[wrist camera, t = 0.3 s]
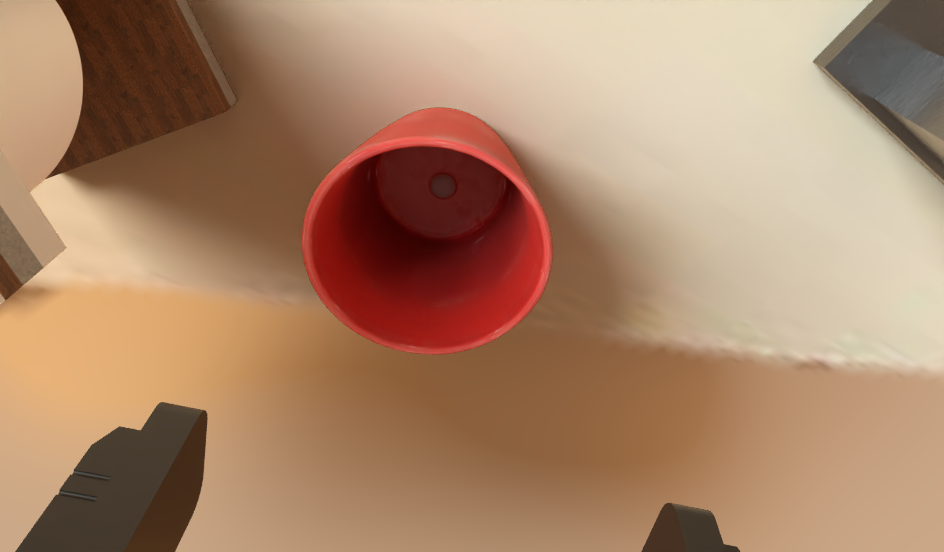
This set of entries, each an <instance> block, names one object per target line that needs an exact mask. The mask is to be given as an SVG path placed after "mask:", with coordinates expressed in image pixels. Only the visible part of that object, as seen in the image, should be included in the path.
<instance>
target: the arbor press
mask: <svg viewBox="0 0 944 552" xmlns="http://www.w3.org/2000/svg"><path fill="white" fill-rule="evenodd" d="M813 62H814V63H815V64H816V65H817V66H818V67H819V68H820V69H821V70H822V71H824V72H825V73H826V74H827V75H828V76H829V77H830V78H831V79H832V80H833V81H834V82H835V83H836V84H837V85H838V86H840V87H841V88H842V89H843V90H844V91H845V92H846V93H847V94H848V95H849V96H850V97H851V98H852V99H853V100H854V101H856V102H857V103H858V104H859V105H860V106H861V107H862V108H863V109H864V110H865V111H866V112H867V113H868V114H869V115H870V116H872V117H873V118H874V119H875V120H876V121H877V122H878V123H879V124H880V125H881V126H882V127H883V128H884V129H885V130H886V131H888V132H889V133H890V134H891V135H892V136H893V137H894V138H895V139H896V140H897V141H898V142H899V143H900V144H901V145H902V146H904V147H905V148H906V149H907V150H908V151H909V152H910V153H911V154H912V155H913V156H914V157H915V158H916V159H917V160H918V161H919V162H921V163H922V164H923V165H924V166H925V167H926V168H927V169H928V170H929V171H930V172H931V173H932V174H933V175H934V176H935V177H937V178H938V179H939V180H940V181H941V182H942V183H943V184H944V0H873V1H872V2H871V3H870V4H869V5H868V6H867V7H866V8H865V9H864V10H863V11H862V12H861V13H860V14H859V15H858V16H857V17H856V18H855V19H854V20H853V21H852V22H851V23H850V24H849V25H848V26H847V27H846V28H845V29H844V30H843V31H842V32H841V33H840V34H839V35H838V36H837V37H836V38H835V39H834V40H833V41H832V42H831V43H830V44H829V45H828V46H827V47H826V48H825V50H824V51H823V52H822V53H821V54H820V55H819V56H818V57H817V58H816V59H815V60H814V61H813Z"/></svg>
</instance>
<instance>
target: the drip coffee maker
mask: <svg viewBox="0 0 944 552" xmlns="http://www.w3.org/2000/svg"><path fill="white" fill-rule="evenodd" d="M236 102H237V99H236V97H235V95H234V93H233V91H232V89H231V87H230V85H229V83H228V81H227V79H226V77H225V75H224V73H223V71H222V69H221V67H220V65H219V63H218V61H217V59H216V57H215V55H214V53H213V51H212V49H211V47H210V45H209V43H208V41H207V40H206V38H205V36H204V34H203V32H202V30H201V28H200V26H199V24H198V22H197V20H196V18H195V16H194V14H193V12H192V10H191V8H190V6H189V4H188V2H187V0H0V305H1V304H2V303H3V302H4V301H5V300H6V299H8V298H9V297H10V296H11V295H12V294H13V293H15V292H16V291H17V290H18V289H19V288H20V287H22V286H23V285H24V284H25V283H26V282H27V281H29V280H30V279H31V278H32V277H33V276H34V275H36V274H37V273H38V272H39V271H40V270H41V269H43V268H44V267H45V266H46V265H47V264H48V263H50V262H51V261H52V260H53V259H54V258H55V257H57V256H58V255H59V254H60V253H61V252H62V251H64V250H65V249H66V246H65V245H64V243H63V242H62V240H61V239H60V237H59V236H58V234H57V233H56V231H55V230H54V228H53V227H52V225H51V224H50V222H49V221H48V219H47V218H46V216H45V215H44V213H43V212H42V210H41V209H40V207H39V206H38V204H37V203H36V201H35V200H34V198H33V197H32V195H31V194H30V192H31V191H32V190H33V189H35V188H36V187H37V186H38V185H39V184H40V183H42V182H43V181H44V180H45V179H47V178H50V177H52V176H55V175H58V174H60V173H63V172H66V171H68V170H71V169H74V168H76V167H79V166H82V165H84V164H87V163H90V162H92V161H95V160H98V159H100V158H103V157H106V156H108V155H111V154H114V153H116V152H119V151H122V150H124V149H127V148H130V147H133V146H135V145H138V144H141V143H143V142H146V141H149V140H151V139H154V138H157V137H159V136H162V135H165V134H167V133H170V132H173V131H175V130H178V129H181V128H183V127H186V126H189V125H191V124H194V123H197V122H199V121H202V120H205V119H207V118H210V117H213V116H215V115H218V114H221V113H223V112H226V111H227V110H228V109H229V108H230V107H231V106H233V105H234V104H235V103H236Z"/></svg>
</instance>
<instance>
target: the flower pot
mask: <svg viewBox="0 0 944 552" xmlns="http://www.w3.org/2000/svg"><path fill="white" fill-rule="evenodd" d="M302 253H303V258H304V263H305V267H306V270H307V273H308V276H309V279H310V281H311V283H312V285H313V287H314V289H315V291H316V292H317V294H318V296H319V298H320V299H321V300H322V302H323V303H324V304H325V305H326V307H327V308H328V309H329V310H330V311H331V312H332V313H333V314H334V315H335V316H336V317H337V318H338V319H339V320H340V321H341V322H342V323H343V324H345V325H346V326H347V327H349V328H350V329H352V330H353V331H355V332H356V333H358V334H359V335H361V336H363V337H365V338H367V339H369V340H371V341H373V342H375V343H377V344H380V345H383V346H385V347H389V348H392V349H395V350H400V351H404V352H411V353H418V354H449V353H456V352H460V351H465V350H469V349H472V348H475V347H479V346H481V345H484V344H486V343H489V342H491V341H493V340H495V339H497V338H498V337H500V336H502V335H504V334H505V333H507V332H508V331H510V330H511V329H512V328H513V327H515V326H516V325H517V324H518V323H519V322H521V321H522V320H523V319H524V318H525V317H526V315H527V314H528V313H529V312H530V311H531V310H532V309H533V307H534V306H535V305H536V303H537V302H538V300H539V299H540V297H541V296H542V294H543V292H544V290H545V287H546V285H547V282H548V279H549V276H550V272H551V267H552V259H553V243H552V236H551V231H550V226H549V223H548V219H547V217H546V214H545V212H544V209H543V207H542V205H541V203H540V201H539V199H538V197H537V195H536V194H535V192H534V190H533V188H532V187H531V185H530V183H529V182H528V180H527V179H526V177H525V175H524V174H523V172H522V170H521V168H520V167H519V165H518V163H517V161H516V160H515V158H514V157H513V155H512V154H511V152H510V151H509V149H508V148H507V146H506V145H505V144H504V142H503V141H502V140H501V139H500V137H499V136H498V135H497V134H496V133H495V132H494V130H493V129H492V128H490V127H489V126H488V125H487V124H486V123H484V122H483V121H481V120H480V119H478V118H477V117H475V116H473V115H471V114H469V113H466V112H463V111H460V110H456V109H451V108H428V109H423V110H419V111H416V112H413V113H410V114H408V115H406V116H404V117H402V118H400V119H399V120H397V121H396V122H394V123H392V124H390V125H389V126H387V127H386V128H384V129H382V130H381V131H379V132H378V133H376V134H375V135H374V136H372V137H371V138H370V139H368V140H367V141H366V142H364V143H363V144H362V145H360V146H359V147H358V148H357V149H355V150H354V151H353V152H351V153H350V154H349V155H348V156H347V157H345V158H344V159H343V160H342V161H341V162H340V163H338V164H337V165H336V166H335V167H334V168H333V169H332V170H331V171H330V172H329V174H328V175H327V176H326V177H325V178H324V179H323V181H322V182H321V183H320V185H319V186H318V188H317V189H316V191H315V193H314V195H313V197H312V198H311V200H310V203H309V205H308V208H307V211H306V214H305V217H304V223H303V229H302Z"/></svg>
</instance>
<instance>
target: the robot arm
mask: <svg viewBox="0 0 944 552" xmlns="http://www.w3.org/2000/svg"><path fill="white" fill-rule="evenodd" d="M206 431H207V412H206V411H205V410H200V409H195V408H189V407H185V406H179V405H174V404H169V403H164V402H161V403H159V404H158V405H157V406H156V408H155V409H154V411H153V412H152V414H151V416H150V417H149V419H148V420H147V422H146V423H145V425H144V426H143V428H142V430H141V431H140V430H135V429H130V428H125V427H118V428H116V429H115V430H114V431H112V432H111V433H109V434H108V435H106V436H105V437H103V438H102V439H100V440H99V441H97V442H96V443H94V444H93V445H91V447H90V448H89V449H88V451H87V452H86V454H85V455H84V456H83V458H82V459H81V461H80V462H79V464H78V465H77V466H76V468H75V469H74V473H73V474H72V475H70V476H69V478H68V479H67V480H66V482H65V483H64V485H63V486H62V487H61V489H60V492H59V494H58V495H56V496H55V497H54V498H53V500H52V501H51V503H50V504H49V506H48V507H47V508H46V510H45V511H44V512H43V514H42V515H41V517H40V518H39V519H38V521H37V522H36V524H35V525H34V526H33V528H32V529H31V531H30V532H29V533H28V535H27V536H26V538H25V539H24V540H23V542H22V543H21V545H20V546H19V547H18V549H17V550H16V552H175V551H176V548H177V546H178V544H179V542H180V540H181V538H182V536H183V534H184V532H185V530H186V528H187V526H188V523H189V521H190V519H191V517H192V515H193V513H194V510H195V508H196V504H197V502H198V499H199V495H200V491H201V487H202V481H203V472H204V458H205V446H206ZM642 552H740V550H739V549H738V548H737V547H735V546H730V545H725V544H723V541H722V538H721V535H720V532H719V529H718V526H717V523H716V520H715V517H714V515H713V514H712V513H711V511H709V510H704V509H699V508H694V507H688V506H683V505H678V504H672V503H667V504H665V505H664V506H663V508H662V510H661V511H660V514H659V516H658V518H657V520H656V522H655V524H654V526H653V528H652V530H651V532H650V535H649V537H648V539H647V541H646V543H645V545H644V547H643V550H642Z"/></svg>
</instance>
